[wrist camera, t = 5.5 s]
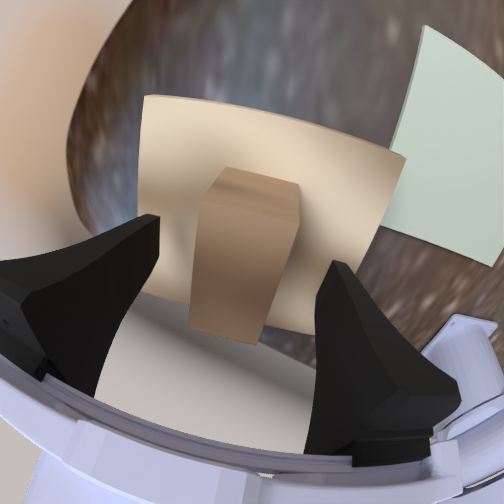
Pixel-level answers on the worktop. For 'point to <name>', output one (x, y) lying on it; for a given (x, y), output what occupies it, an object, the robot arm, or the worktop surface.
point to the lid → (254, 210)
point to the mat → (451, 152)
